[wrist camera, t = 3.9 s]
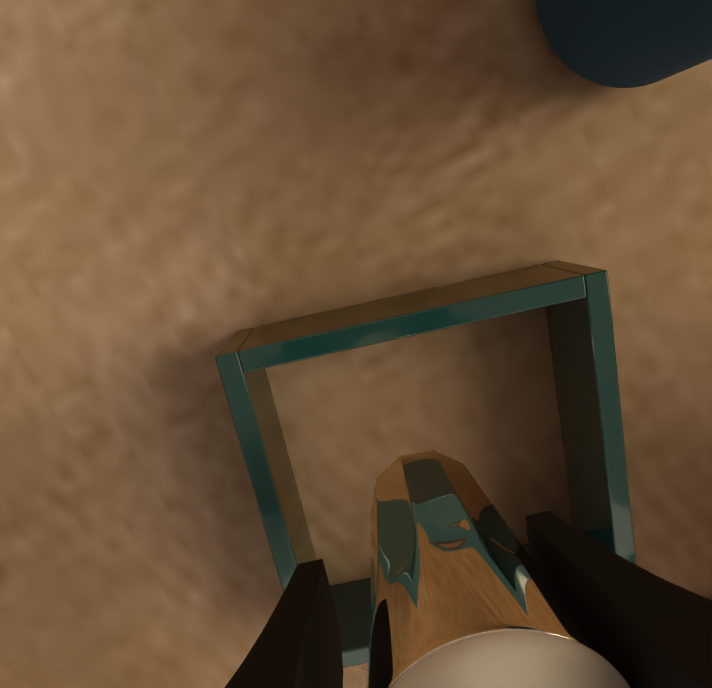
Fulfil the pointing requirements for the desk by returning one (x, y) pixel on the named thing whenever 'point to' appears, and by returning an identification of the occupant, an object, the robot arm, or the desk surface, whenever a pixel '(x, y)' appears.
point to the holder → (417, 316)
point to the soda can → (628, 37)
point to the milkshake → (464, 592)
